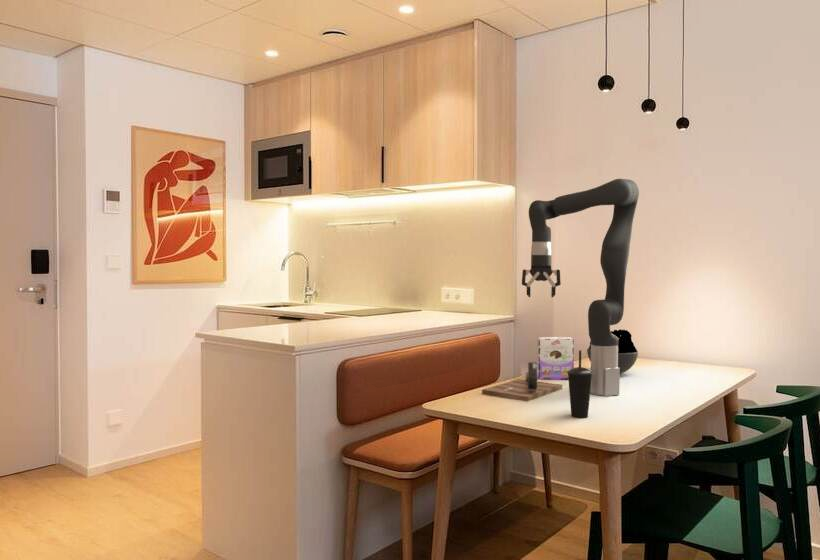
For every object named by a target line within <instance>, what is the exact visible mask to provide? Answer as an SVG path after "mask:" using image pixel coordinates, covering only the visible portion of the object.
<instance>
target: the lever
mask: <svg viewBox="0 0 820 560" xmlns="http://www.w3.org/2000/svg"><path fill="white" fill-rule="evenodd" d="M527 368H528V369H527V371H528V372H527V371H526V372H525V380H526V381H527V382H528V388H529V391H530V392H536V389H537V381H538V378H537V361H529V362H528V363H527Z"/></svg>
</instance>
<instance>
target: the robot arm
mask: <svg viewBox="0 0 820 560" xmlns="http://www.w3.org/2000/svg"><path fill="white" fill-rule="evenodd" d="M639 195H640V189H639V186H638V184H637V183H636V182H635V181H634V180H632V179H628V178H627V179H626V178H616V179H613V180H611V181H608V182H605V183H604V184H601V185H599V186H597V187H593V188H589V189H587V190H583V191H577V192H573V193H569V194H568V193H567V194H564V195H561V196H557V197H556V198H554V199H551V200H542V199H541V200H540V199H539V200H538V199H537V200H534V201H532V202H531V204H529V208H528V219H529V224H530V228H531V246H530V247H531V248H530V249H531V251H530V256H531V257H530V269H525V268H523V269H522V272H521V273H522V275H521V285H522V286H525V287H526V295H527V296H528V298H531V288H532V287H531V285H533V283H534V282H535V281H536V282H540V281H541V282H546V281H548V283H549V284H550V285H551V291H550V292H551V298H554V297H555V296H556V288H557V287H558V286H559V287H560V286H561V284H562V283H561V270H560V269H554V270H553V269H552V254H553V252H552V251H553V250H552V248H553V247H552V229H551V227H550V226H548V225H547V221H546V220H552V219H556V218H558V217H561V216H565V215H571V214H575V213H579V212H582V211H585V210H587V209H590V208H594V207H600V206H613V213H612V220H611V222H610V224H609V227H608V229H607V231H606V233H605V236H604V238H603V241H602V244H601V250H600V261H599V262H600V266H601V270H602V272H603V273H602V274H603V276H604V279H605V282H606V284H605V285H606V287H605V288H606V289H605V297H604V299H596V300H593V301H592V302H591V303H590V305H589V306H588V311H587V312H588V313H587V322H588V323H587V325H588V327H587V328H588V336H589V338H590V339H589V340H590V341H591V362H590V371H592V372H593V374H592V380H591V390H590V394H592V395H595V396H596V395H597V396H604V397H609V396H612V397H613V396H619V395H620V383H621V382H620V381H621V379H620V375H621V374H620V368H618V340H619V339H618V337H617V336H615V335H613V334H612V333H611V332H610V331H611V326H615V325H618V324H619V323H620V322H621V321H622V319H623V316H624V313H625V312H624V309H625V308H624V307H625V286H626V277H627V270H628V269H627V268H628V262H629V256H630V248H631V247H630V246H631V241H632V239H631V238H632V230H633V223H634V222H633V221H634V217H635V212H636V210H637V209H636V208H637V205H638V201H639V197H640V196H639ZM529 274H530V275H531V278H530V280H528V282H526V277H527V276H528V275H529ZM552 274H554V276H556V282H554V281H553V280H552V279H551V276H552Z"/></svg>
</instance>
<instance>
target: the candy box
mask: <svg viewBox="0 0 820 560" xmlns="http://www.w3.org/2000/svg"><path fill="white" fill-rule="evenodd" d="M536 339H537V341H536V356H537V357H536V359H537V360H536V362H537V380H548V381H549V380H551V381H552V380H559V381H561V380H562V381H563V380H566V381H568V373H567V370H570V369H572V368H575V366H574V365H575V363H574V357H575V356H574V350H575V348H574V346H575V345H574V342H575V341H574V338H573V337H572V336H537V338H536Z"/></svg>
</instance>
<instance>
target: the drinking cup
mask: <svg viewBox="0 0 820 560" xmlns="http://www.w3.org/2000/svg"><path fill="white" fill-rule="evenodd" d="M567 373H568V380H567V382H568V391H569V402H570V405H569V406H570V414H571V417H572V418H575V419H588V417H589V407H590V399H591V392H590V390H591V380H592V374H593V372H592V371H591V369H590V368H589V369H588V368H586V367H582V350H578V366H577V367H574V368H572V369H570V370H567Z"/></svg>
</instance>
